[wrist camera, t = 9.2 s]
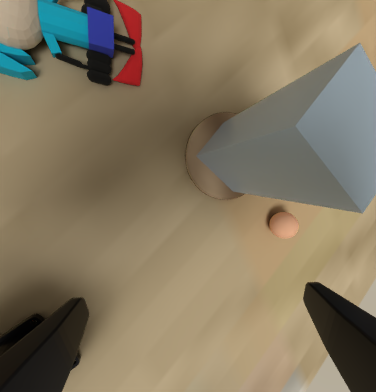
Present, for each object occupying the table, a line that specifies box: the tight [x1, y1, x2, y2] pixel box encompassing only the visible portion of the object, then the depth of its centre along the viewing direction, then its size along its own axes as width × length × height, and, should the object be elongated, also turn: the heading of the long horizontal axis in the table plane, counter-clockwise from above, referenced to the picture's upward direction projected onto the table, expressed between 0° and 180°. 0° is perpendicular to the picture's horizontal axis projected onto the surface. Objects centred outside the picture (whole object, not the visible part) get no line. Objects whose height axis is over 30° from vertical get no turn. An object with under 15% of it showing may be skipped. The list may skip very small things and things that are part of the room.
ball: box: [269, 212, 299, 238], centre depth 21 cm, size 3×3×3 cm
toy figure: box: [0, 0, 142, 86], centre depth 13 cm, size 8×5×15 cm
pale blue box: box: [196, 43, 376, 213], centre depth 14 cm, size 5×6×12 cm
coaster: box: [186, 112, 245, 200], centre depth 20 cm, size 9×9×1 cm
